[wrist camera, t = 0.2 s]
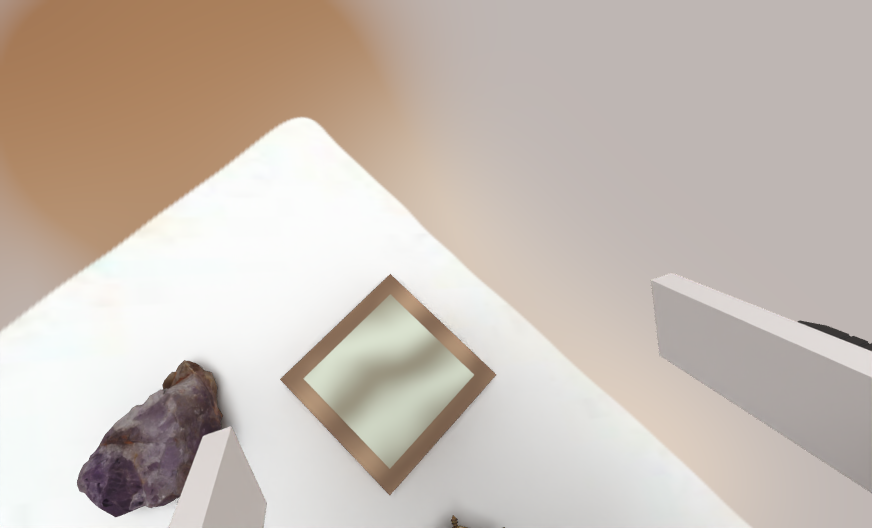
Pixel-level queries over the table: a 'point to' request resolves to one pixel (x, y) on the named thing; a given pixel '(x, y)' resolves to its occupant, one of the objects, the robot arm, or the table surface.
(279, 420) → the table surface
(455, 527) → the game die
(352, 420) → the framed mirror
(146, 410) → the rock
